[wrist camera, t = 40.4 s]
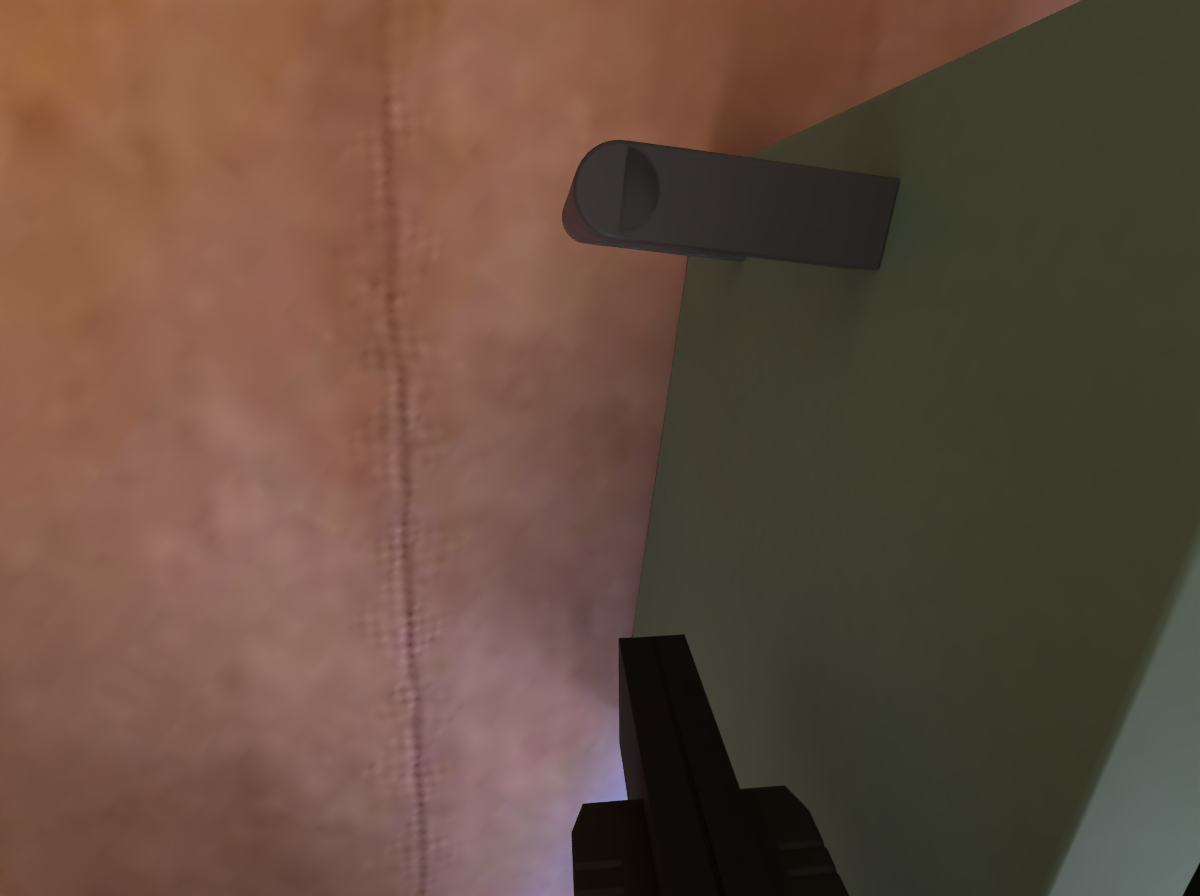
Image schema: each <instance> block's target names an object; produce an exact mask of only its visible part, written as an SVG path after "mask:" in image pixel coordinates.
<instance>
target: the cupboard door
mask: <svg viewBox="0 0 1200 896" xmlns="http://www.w3.org/2000/svg"><path fill="white" fill-rule="evenodd" d="M562 222H563V226H564V228H565V230H566V232H567V233H568V235H569V236H570V237H571V238H572V239H574V240H576V241H578V242H580V243H586V244H594V245H602V246H611V247H619V248H628V249H636V250H644V251H653V252H661V253H669V254H678V255H686V256H689V257H688V264H687V271H686V278H685V284H684V291H683V298H682V305H681V311H680V318H679V325H678V332H677V338H676V345H675V352H674V359H673V365H672V372H671V379H670V386H669V392H668V399H667V406H666V413H665V419H664V426H663V433H662V440H661V446H660V453H659V460H658V467H657V473H656V480H655V487H654V494H653V500H652V507H651V514H650V521H649V527H648V534H647V541H646V548H645V554H644V561H643V568H642V575H641V581H640V588H639V595H638V602H637V608H636V615H635V622H634V629H633V635H632V638H633V637H649V636H666V635H681V634H685V637H686V640H687V643H688V645H689V648H690V651H691V654H692V656H693V659H694V662H695V665H696V668H697V670H698V673H699V676H700V679H701V681H702V684H703V687H704V690H705V693H706V695H707V698H708V701H709V704H710V706H711V709H712V712H713V715H714V718H715V720H716V723H717V726H718V729H719V731H720V734H721V737H722V740H723V743H724V745H725V748H726V751H727V754H728V756H729V759H730V762H731V765H732V768H733V770H734V773H735V776H736V779H737V781H738V784H739V787H740V789H746V788H758V787H770V786H782V785H785V786H786V787H787V788H788V789H789V790H790V791H791V792H792V793H793V794H794V795H795V796H796V797H797V798H798V799H799V800H800V801H801V802H802V804H803V805H804V806H805V807H806V808H807V809H808V810H809V811H810V813H811V815H812V818H813V820H814V822H815V824H816V826H817V828H818V830H819V833H820V835H821V837H822V839H823V841H824V846H825V848H826V847H827V850H828V852H829V854H830V856H831V858H832V860H833V862H834V865H835V867H836V872H837V874H839V875H840V877H841V879H842V882H843V884H844V886H845V888H846V890H847V892H848V894H849V896H1183V894H1184V892H1185V890H1186V888H1187V886H1188V884H1189V882H1190V880H1191V879H1192V877H1193V875H1194V873H1195V871H1196V869H1197V867H1198V865H1199V863H1200V0H1082V1H1080V2H1078V3H1076V4H1074V5H1072V6H1069V7H1067V8H1065V9H1063V10H1061V11H1059V12H1056V13H1054V14H1052V15H1050V16H1048V17H1046V18H1044V19H1041V20H1039V21H1037V22H1035V23H1033V24H1031V25H1029V26H1026V27H1024V28H1022V29H1020V30H1018V31H1016V32H1014V33H1011V34H1009V35H1007V36H1005V37H1003V38H1001V39H999V40H996V41H994V42H992V43H990V44H988V45H986V46H984V47H981V48H979V49H977V50H975V51H973V52H971V53H969V54H966V55H964V56H962V57H960V58H958V59H956V60H954V61H951V62H949V63H947V64H945V65H943V66H941V67H939V68H936V69H934V70H932V71H930V72H928V73H926V74H923V75H921V76H919V77H917V78H915V79H913V80H911V81H908V82H906V83H904V84H902V85H900V86H898V87H896V88H893V89H891V90H889V91H887V92H885V93H883V94H881V95H878V96H876V97H874V98H872V99H870V100H868V101H866V102H863V103H861V104H859V105H857V106H855V107H853V108H851V109H848V110H846V111H844V112H842V113H840V114H838V115H836V116H833V117H831V118H829V119H827V120H825V121H823V122H821V123H818V124H816V125H814V126H812V127H810V128H808V129H806V130H803V131H801V132H799V133H797V134H795V135H793V136H791V137H788V138H786V139H784V140H782V141H780V142H778V143H775V144H773V145H771V146H769V147H767V148H765V149H763V150H760V151H758V152H756V153H754V154H752V155H750V156H748V157H743V156H736V155H728V154H721V153H714V152H707V151H700V150H692V149H685V148H678V147H671V146H664V145H656V144H649V143H642V142H635V141H625V140H612V141H608V142H605V143H602V144H600V145H598V146H596V147H595V148H593V149H592V150H591V151H590V152H589V153H587V154H586V156H585V157H584V158H583V159H582V161H581V163H580V164H579V166H578V168H577V171H576V173H575V176H574V179H573V182H572V185H571V188H570V191H569V194H568V197H567V199H566V202H565V205H564V208H563V212H562Z"/></svg>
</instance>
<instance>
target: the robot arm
mask: <svg viewBox="0 0 1200 896" xmlns="http://www.w3.org/2000/svg"><path fill="white" fill-rule="evenodd" d="M619 740H620V749H621V756H622V763H623V769H624V776H625V783H626V789H627V796H628V800H623V801H610V802H598V803H586V804H583V805H582V807H581V810H580V812H579V815H578V818H577V820H576V823H575V825H574V828H573V830H572V855H573V881H574V896H849V894H848V892H847V890H846V888H845V886H844V884H843V882H842V879H841V877H840V875H839V874H837V872H836V867H835V865H834V862H833V860H832V858H831V856H830V854H829V852H828V850H827V847H826V848H825V846H824V841H823V839H822V837H821V835H820V833H819V830H818V828H817V826H816V824H815V822H814V820H813V818H812V815H811V813H810V811H809V810H808V809H807V808H806V807H805V806H804V805H803V804H802V802H801V801H800V800H799V799H798V798H797V797H796V796H795V795H794V794H793V793H792V792H791V791H790V790H789V789H788V788H787V787H786V786H785V785H782V786H770V787H758V788H746V789H740V787H739V784H738V781H737V779H736V776H735V773H734V770H733V768H732V765H731V762H730V759H729V756H728V754H727V751H726V748H725V745H724V743H723V740H722V737H721V734H720V731H719V729H718V726H717V723H716V720H715V718H714V715H713V712H712V709H711V706H710V704H709V701H708V698H707V695H706V693H705V690H704V687H703V684H702V681H701V679H700V676H699V673H698V670H697V668H696V665H695V662H694V659H693V656H692V654H691V651H690V648H689V645H688V643H687V640H686V637H685V634H681V635H666V636H649V637H633V638H619Z"/></svg>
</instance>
